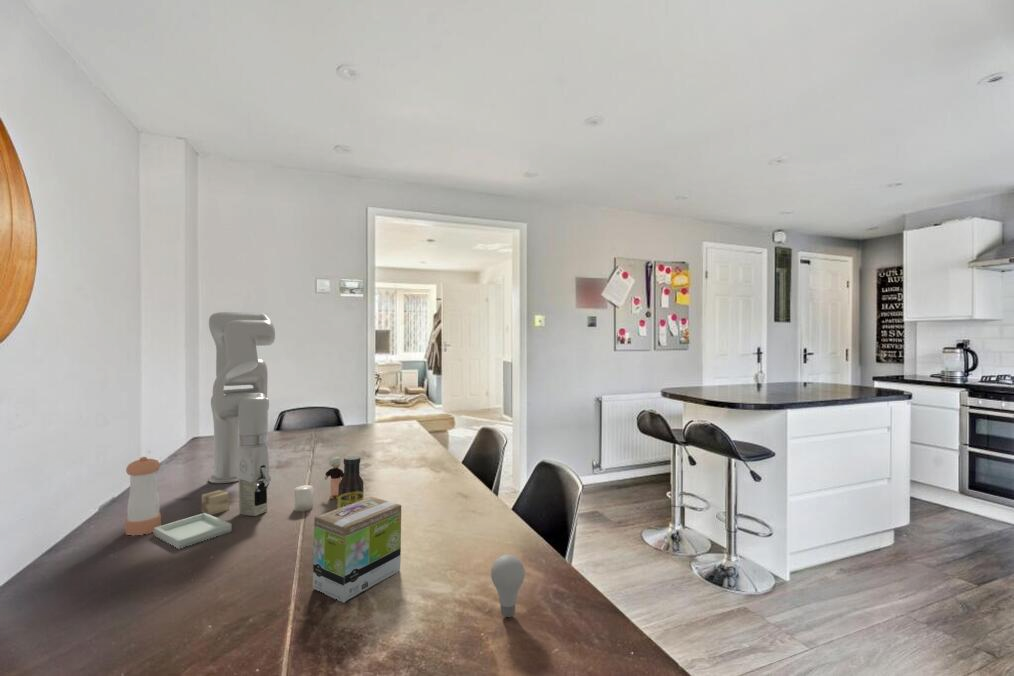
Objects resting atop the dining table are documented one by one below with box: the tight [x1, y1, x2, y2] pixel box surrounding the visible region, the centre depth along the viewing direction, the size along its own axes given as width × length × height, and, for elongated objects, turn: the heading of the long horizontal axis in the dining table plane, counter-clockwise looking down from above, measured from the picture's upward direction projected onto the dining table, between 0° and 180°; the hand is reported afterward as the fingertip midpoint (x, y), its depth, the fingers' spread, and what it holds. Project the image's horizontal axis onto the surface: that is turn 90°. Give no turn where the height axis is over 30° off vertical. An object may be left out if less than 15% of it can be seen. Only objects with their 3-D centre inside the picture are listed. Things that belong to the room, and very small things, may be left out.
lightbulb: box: [490, 554, 526, 618], centre depth 84 cm, size 6×6×11 cm
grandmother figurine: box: [323, 456, 344, 500], centre depth 146 cm, size 8×4×13 cm, turn 84°
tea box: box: [312, 496, 402, 604], centre depth 97 cm, size 15×10×15 cm, turn 148°
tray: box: [153, 512, 232, 550], centre depth 119 cm, size 14×12×2 cm
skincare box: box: [238, 477, 268, 517], centre depth 133 cm, size 6×4×12 cm
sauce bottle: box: [336, 455, 365, 509], centre depth 118 cm, size 7×6×20 cm
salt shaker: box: [125, 456, 162, 536], centre depth 121 cm, size 7×7×19 cm
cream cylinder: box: [294, 484, 314, 512], centre depth 137 cm, size 5×5×6 cm
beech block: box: [201, 489, 230, 516], centre depth 135 cm, size 5×5×5 cm
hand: (253, 501), depth 133 cm, fingers closed on skincare box, 6 cm apart
